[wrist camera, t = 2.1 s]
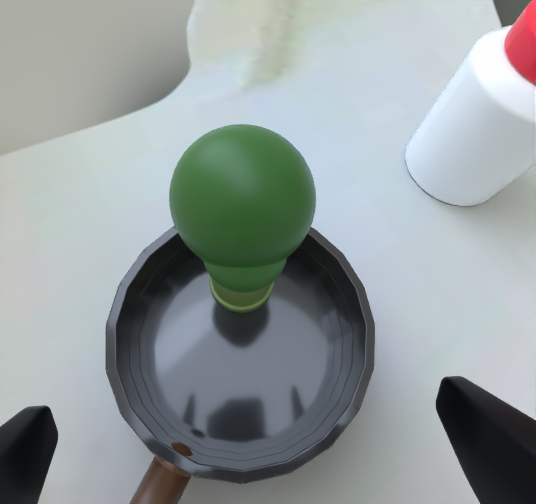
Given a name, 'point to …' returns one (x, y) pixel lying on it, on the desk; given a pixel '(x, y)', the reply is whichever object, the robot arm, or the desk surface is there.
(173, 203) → the broccoli
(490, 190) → the pill bottle
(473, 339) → the desk surface
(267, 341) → the pan
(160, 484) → the pan handle
